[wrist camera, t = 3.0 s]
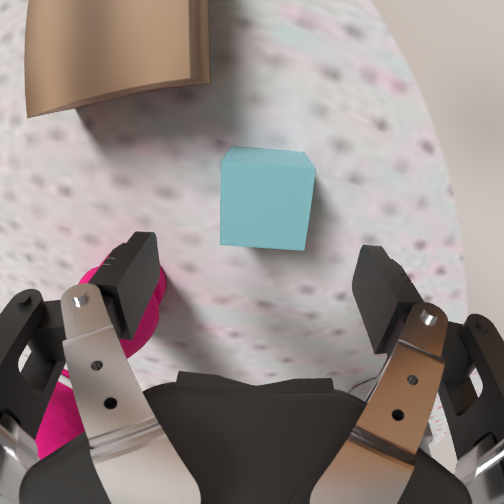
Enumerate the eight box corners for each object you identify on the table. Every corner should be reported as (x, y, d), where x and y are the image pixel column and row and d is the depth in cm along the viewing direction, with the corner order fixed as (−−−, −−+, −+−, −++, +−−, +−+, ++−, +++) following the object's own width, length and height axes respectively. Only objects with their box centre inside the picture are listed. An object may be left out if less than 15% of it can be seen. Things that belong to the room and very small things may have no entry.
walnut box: (208, -45, 12) (191, -83, 7) (211, 83, 17) (190, 78, 12) (76, -9, 12) (32, -24, 7) (76, 108, 18) (27, 118, 13)
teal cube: (303, 151, 19) (315, 168, 15) (296, 217, 22) (304, 250, 17) (231, 146, 19) (221, 161, 15) (229, 213, 22) (220, 244, 17)
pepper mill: (103, 229, 23) (-45, 428, 5) (180, 258, 24) (85, 511, 6) (98, 291, 26) (1, 467, 9) (164, 317, 27) (98, 518, 10)
